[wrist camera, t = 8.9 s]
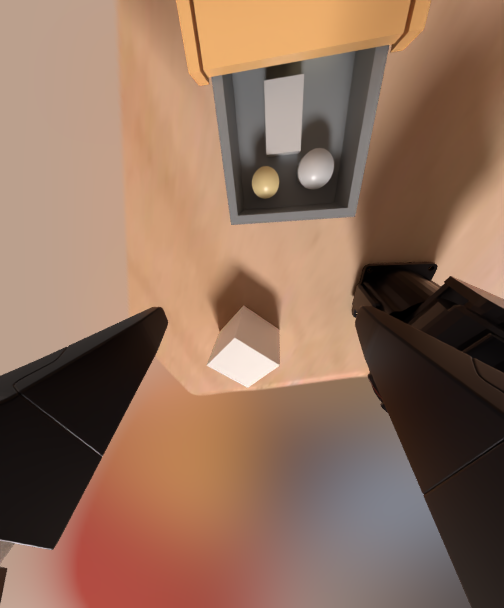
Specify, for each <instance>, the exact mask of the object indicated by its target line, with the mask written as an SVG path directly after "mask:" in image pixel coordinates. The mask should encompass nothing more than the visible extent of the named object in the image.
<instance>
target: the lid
mask: <svg viewBox="0 0 504 608" xmlns="http://www.w3.org/2000/svg"><path fill="white" fill-rule="evenodd" d="M430 3H431V0H176V4H177V9H178V15H179V21H180V26H181V32H182V38H183V43H184V49H185V55H186V60H187V66H188V72H189V74H190V75H191V76H192V78H193V79H194V80H195V81H196V82H197V84H198V85H199V86H203V85H208V84H209V78H208V77H214V76H219V75H225V74H230V73H236V72H241V71H247V70H252V69H258V68H263V67H269V66H275V65H280V64H286V63H291V62H297V61H302V60H308V59H313V58H319V57H324V56H330V55H335V54H341V53H346V52H352V51H358V50H363V49H369V48H374V47H380V46H385V45H391V44H392V47H391V52H396V51H402V50H404V49H405V48H406V47H407V46H408V45H409V44H410V43H411V42H412V41H413V40H414V39H415V38H416V37H417V36H418V35H419V34H420V33H421V32H422V31H423V30H424V27H425V23H426V19H427V15H428V11H429V7H430ZM391 52H390V53H391Z"/></svg>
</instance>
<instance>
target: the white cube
mask: <svg viewBox="0 0 504 608" xmlns="http://www.w3.org/2000/svg"><path fill="white" fill-rule="evenodd" d="M207 366H209V367H210V368H212V369H214V370H216V371H218V372H220V373H221V374H223V375H225V376H227V377H229V378H231V379H233V380H234V381H236V382H238V383H240V384H242V385H244V386H245V387H247V388H248V387H249V386H251V385H252V384H254V383H255V382H257V381H258V380H259V379H261V378H262V377H264V376H265V375H267V374H268V373H270V372H271V371H272V370H274V369H275V368H277V367H278V366H280V347H279V329H278V328H276V327H275V326H273V325H272V324H270V323H269V322H267V321H266V320H265V319H263V318H262V317H260V316H259V315H257V314H256V313H254V312H253V311H251V310H250V309H248V308H247V307H245V306H244V305H243V306H242V308H241V309H240V310H239V311H238V312H237V313H236V314H235V315H234V316H233V317H232V318H231V320H230V321H229V322H228V323H227V324H226V325H225V326H224V327H223V328H222V329H221V331H220V332H219V334H218V337H217V340H216V342H215V345H214V347H213V350H212V353H211V355H210V358H209V361H208V363H207Z"/></svg>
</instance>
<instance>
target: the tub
mask: <svg viewBox="0 0 504 608" xmlns="http://www.w3.org/2000/svg"><path fill="white" fill-rule="evenodd" d="M388 49H389V45H385V46H380V47H374V48H369V49H363V50H358V51H352V52H346V53H341V54H335V55H330V56H324V57H319V58H313V59H308V60H302V61H297V62H291V63H286V64H280V65H275V66H269V67H263V68H258V69H252V70H247V71H241V72H236V73H230V74H225V75H219V76H214V77H212V85H213V92H214V100H215V107H216V115H217V122H218V130H219V137H220V145H221V153H222V160H223V168H224V175H225V183H226V190H227V198H228V205H229V213H230V220H231V225H237V224H252V223H267V222H282V221H297V220H312V219H327V218H342V217H355V214H356V209H357V204H358V199H359V194H360V189H361V184H362V179H363V174H364V169H365V164H366V159H367V154H368V149H369V144H370V139H371V134H372V129H373V124H374V119H375V114H376V109H377V104H378V99H379V94H380V89H381V84H382V79H383V74H384V69H385V64H386V59H387V54H388Z"/></svg>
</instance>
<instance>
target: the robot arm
mask: <svg viewBox="0 0 504 608" xmlns="http://www.w3.org/2000/svg"><path fill="white" fill-rule="evenodd" d="M431 266H432V267H431ZM429 267H431V268H430V269H428V268H429ZM437 267H438V266H437V265H436V264H435V263H433V262H419V263H390V264H368V265H366V266H365V267H364V268H363V271H362V275H361V279H360V283H359V284H358V285H357V287H356V291H355V295H354V299H353V303H352V305H353V310H352V315H353V316H354V317H355V318H356V321H355V327H356V330H357V334H358V337H359V341H360V344H361V347H362V351H363V354H364V357H365V360H366V362H367V365H368V367H369V371H370V373H369V374H368V379H369V381H370V383H371V385H372V388H373V390H374V392H375V394H376V395H377V397H378V398H379V400H380V401H381V402H382V403H381V407H382V408H383V409H384V410H385V411H386V412H387V413H388V414H389V416H390V418H391V421H392V423H393V425H394V428H395V430H396V432H397V435H398V437H399V439H400V442H401V444H402V446H403V449H404V451H405V453H406V456H407V458H408V460H409V463H410V465H411V467H412V470H413V472H414V474H415V476H416V479H417V481H418V484H419V486H420V488H421V491H422V493H423V494H424V498H425V500H426V503H427V505H428V507H429V510H430V512H431V514H432V517H433V519H434V521H435V524H436V526H437V528H438V531H439V533H440V535H441V538H442V540H443V542H444V545H445V547H446V549H447V552H448V554H449V556H450V559H451V561H452V563H453V566H454V568H455V570H456V573H457V575H458V577H459V580H460V582H461V584H462V587H463V589H464V591H465V594H466V596H467V598H468V601H469V603H470V605H471V608H504V299H502V298H500V297H497V296H495V295H493V294H491V293H488V292H486V291H484V290H481V289H479V288H477V287H475V286H472V285H470V284H468V283H465V282H463V281H461V280H459V279H456V278H454V277H452V276H450V277H449V278H448V279H447V280H446V281H444V283H445V284H444V285H442V286H439V285H438V284H436V283H435V282H433V281H432V278H433V276H434V274H435V272H436V270H437ZM369 268H371V270H370V271H367V270H368V269H369ZM356 313H358V314H356ZM167 325H168V320H167V317H166V315H165V312H164V310H163V308H161V307H152V308H149V309H147V310H145V311H143V312H141V313H139V314H136V315H134V316H132V317H130V318H128V319H126V320H123V321H121V322H119V323H117V324H115V325H113V326H111V327H108V328H106V329H104V330H102V331H100V332H98V333H95V334H93V335H91V336H89V337H87V338H84V339H82V340H80V341H78V342H76V343H74V344H71V345H69V346H68V347H65V348H63V349H61V350H58V351H56V352H54V353H52V354H50V355H47V356H45V357H43V358H41V359H39V360H36V361H34V362H32V363H29V364H27V365H25V366H22V367H20V368H18V369H15V370H13V371H10V372H8V373H6V374H3V375H1V376H0V563H1V562H2V560H3V559H4V557H5V556H6V555H7V554H8V552H9V551H10V549H11V548H12V547H13V545H14V544H15V543H16V544H22V545H27V546H32V547H38V548H43V549H49V550H53V549H54V547H55V546H56V544H57V543H58V541H59V539H60V537H61V535H62V533H63V532H64V530H65V528H66V526H67V524H68V522H69V520H70V518H71V516H72V514H73V512H74V510H75V509H76V507H77V505H78V503H79V501H80V499H81V497H82V495H83V493H84V491H85V489H86V487H87V485H88V484H89V482H90V480H91V478H92V476H93V474H94V472H95V470H96V468H97V466H98V464H99V462H100V461H101V458H102V456H103V454H104V453H105V451H106V449H107V447H108V445H109V443H110V441H111V439H112V437H113V435H114V433H115V432H116V430H117V428H118V426H119V424H120V422H121V420H122V418H123V416H124V414H125V412H126V410H127V409H128V407H129V404H130V403H131V401H132V399H133V397H134V395H135V393H136V391H137V389H138V387H139V386H140V383H141V382H142V380H143V378H144V376H145V374H146V372H147V370H148V368H149V366H150V364H151V363H152V360H153V359H154V357H155V355H156V353H157V351H158V348H159V346H160V343H161V341H162V338H163V336H164V333H165V331H166V328H167ZM6 572H7V568H4V567H0V602H1V597H2V592H3V587H4V582H5V577H6Z"/></svg>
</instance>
